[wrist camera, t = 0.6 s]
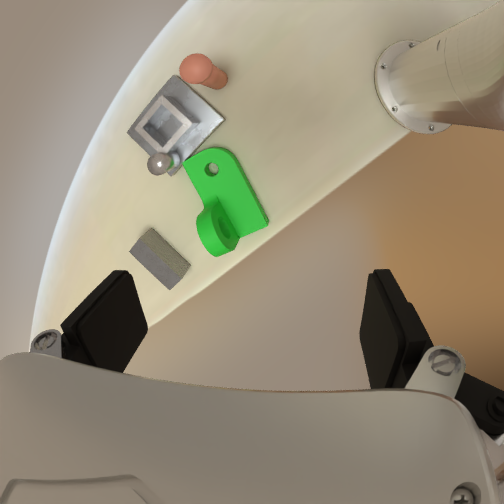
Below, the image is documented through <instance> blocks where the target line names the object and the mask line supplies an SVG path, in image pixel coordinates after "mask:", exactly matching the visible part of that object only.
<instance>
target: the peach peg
mask: <svg viewBox="0 0 504 504" xmlns="http://www.w3.org/2000/svg"><path fill="white" fill-rule="evenodd" d="M179 71H180V76H181V77H182V79H183V80H184V81H186V82H188V83H191V84H202V85H205V86H207V87H210V88H212V89H221V88H223V87H224V86H225V85H226V83H227V80H228V78H227V75H226V73H225V72H223V71H222V70H220V69H219V68H217V67H216V66H214V65H213V64H212V62H211V60H210V59H209V58H208V57H206V56H205V55H203V54H192V55H189V56H187V57H186V58H185V59H184V60H183V61H182V63H181V65H180V70H179Z"/></svg>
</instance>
